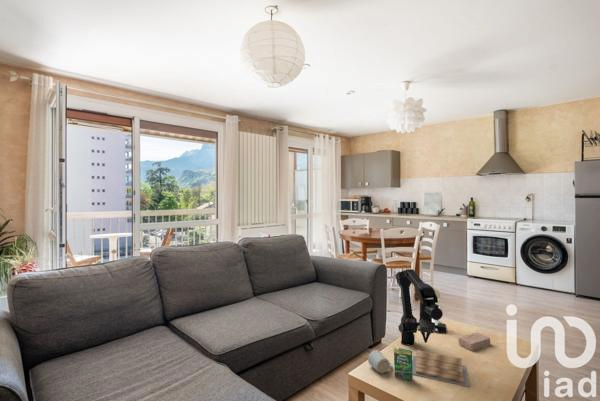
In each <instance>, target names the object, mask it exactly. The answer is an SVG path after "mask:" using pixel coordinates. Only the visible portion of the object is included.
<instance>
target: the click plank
mask: <svg viewBox="0 0 600 401" xmlns="http://www.w3.org/2000/svg"><path fill="white" fill-rule="evenodd" d="M416 356H417V362H416V363H417V364H422V365H427V366H432V367H437V368H442V369H447V370H452V371H457V372H462V365H463V361H462V358H461V357H455V356H448V355H444V354H438V353H433V352H428V351H424V350H423V351H422V350H419V349H418V350H416Z"/></svg>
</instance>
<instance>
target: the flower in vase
mask: <svg viewBox="0 0 600 401" xmlns="http://www.w3.org/2000/svg"><path fill="white" fill-rule="evenodd" d="M433 289H434V291H435V293H436V296H437V298H438V299H439V298H440V297H441V293H440V290H438V289H436V288H433ZM435 304H437V305H439V304H440V302H439V301H438V303H435ZM439 308H440V309H441V306H439ZM432 322H433V323H435V325H438V323H443V322H442V321H441V319H439V320H434V319H433V318H432ZM434 332H438V329H435V330H434Z"/></svg>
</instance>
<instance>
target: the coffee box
mask: <svg viewBox="0 0 600 401" xmlns="http://www.w3.org/2000/svg"><path fill="white" fill-rule="evenodd" d="M393 358H394V359H393V363H394V365H393V366H394V367H393V368H394V370H393V371H394V377H395V378H398V379H402V380H405V381H410V382H412V381H413V378H414V375H413V364H412V361H413V350H412V349H406V348H400V347H397V346H394V349H393Z"/></svg>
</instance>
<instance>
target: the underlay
mask: <svg viewBox="0 0 600 401" xmlns="http://www.w3.org/2000/svg"><path fill="white" fill-rule="evenodd" d="M416 362H417V355H412V364H413V376H417V377H421V378H427V379H431V380H436V381H439V382H446V383H449V384H453V385H459V386H463V387H470V385H469V377H468V371H467V366H466V365H465V364H462V373H463V379H464V384H463V383H458V382H454V381H449V380H445V379H440V378H435V377H431V376H426V375H421V374H417V373H416Z"/></svg>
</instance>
